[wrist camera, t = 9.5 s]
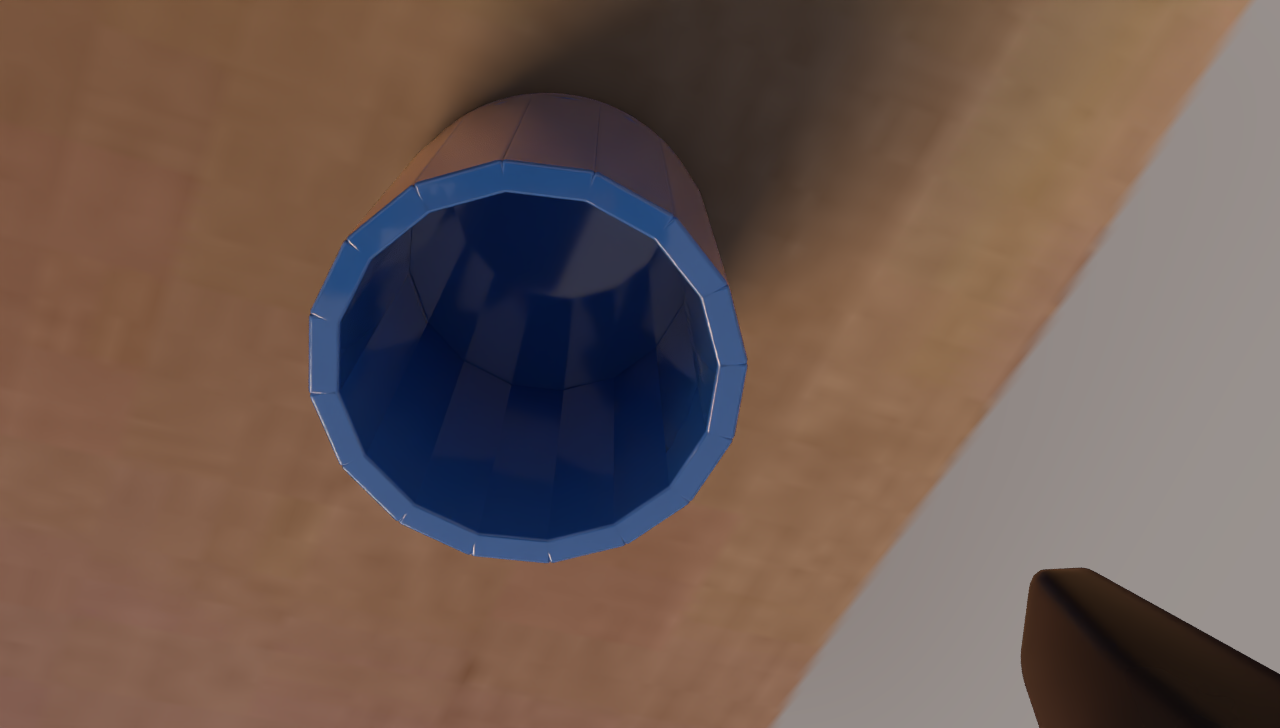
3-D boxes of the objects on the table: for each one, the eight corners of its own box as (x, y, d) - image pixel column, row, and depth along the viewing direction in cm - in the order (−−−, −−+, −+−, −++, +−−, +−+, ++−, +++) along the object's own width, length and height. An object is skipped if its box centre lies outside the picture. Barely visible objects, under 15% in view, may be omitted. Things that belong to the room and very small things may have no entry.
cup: (733, 114, 17) (780, 194, 12) (684, 410, 20) (707, 581, 15) (399, 71, 17) (308, 135, 12) (387, 378, 19) (307, 541, 14)
